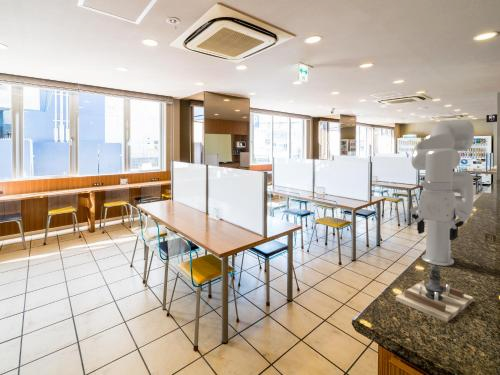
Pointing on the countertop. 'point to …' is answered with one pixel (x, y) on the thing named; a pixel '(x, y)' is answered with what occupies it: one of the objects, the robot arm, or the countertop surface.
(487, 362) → the countertop surface
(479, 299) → the countertop surface
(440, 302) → the pin stand
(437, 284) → the weathered chess pawn
